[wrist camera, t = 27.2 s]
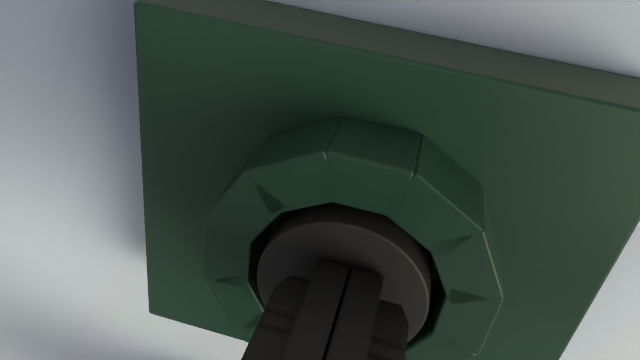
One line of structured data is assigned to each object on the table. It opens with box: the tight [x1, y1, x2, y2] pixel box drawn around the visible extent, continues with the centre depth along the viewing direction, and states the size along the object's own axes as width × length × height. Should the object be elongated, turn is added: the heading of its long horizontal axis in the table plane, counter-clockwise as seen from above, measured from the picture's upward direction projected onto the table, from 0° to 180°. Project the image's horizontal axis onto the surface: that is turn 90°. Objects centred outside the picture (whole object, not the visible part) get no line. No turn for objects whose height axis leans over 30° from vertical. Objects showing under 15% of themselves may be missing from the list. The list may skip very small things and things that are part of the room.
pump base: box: [134, 0, 640, 360], centre depth 14 cm, size 12×10×4 cm
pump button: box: [257, 202, 433, 342], centre depth 13 cm, size 4×4×2 cm
